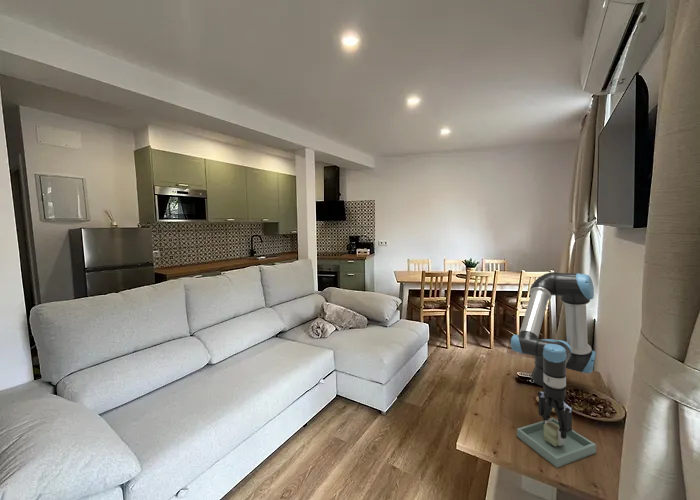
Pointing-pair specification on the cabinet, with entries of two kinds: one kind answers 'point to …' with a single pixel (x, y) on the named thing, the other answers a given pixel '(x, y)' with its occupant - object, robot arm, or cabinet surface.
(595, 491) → the cabinet surface
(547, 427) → the olive block
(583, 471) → the cabinet surface
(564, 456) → the bin
